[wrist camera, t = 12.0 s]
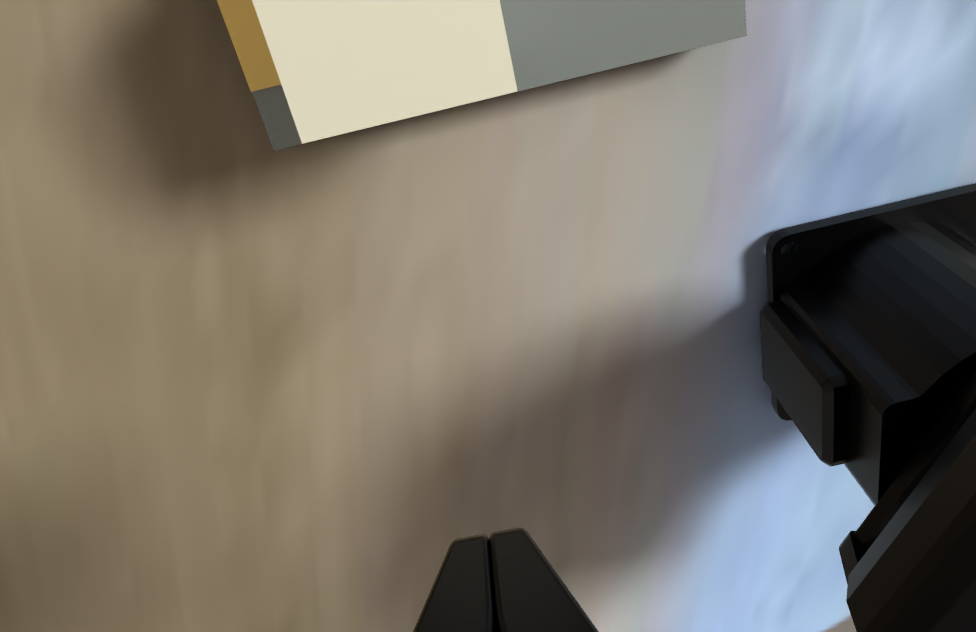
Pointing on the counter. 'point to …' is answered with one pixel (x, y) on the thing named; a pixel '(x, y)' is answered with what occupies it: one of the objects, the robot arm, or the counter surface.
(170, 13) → the counter surface
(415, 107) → the cream cube
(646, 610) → the counter surface
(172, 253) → the counter surface
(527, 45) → the switch bank
